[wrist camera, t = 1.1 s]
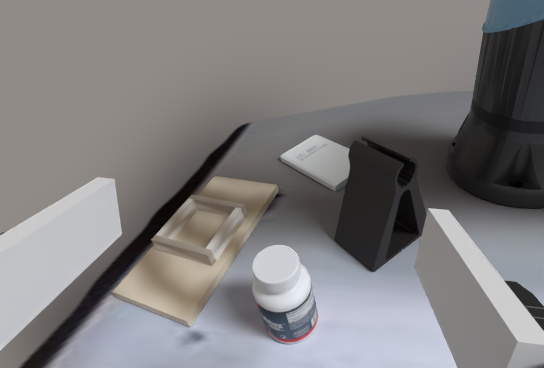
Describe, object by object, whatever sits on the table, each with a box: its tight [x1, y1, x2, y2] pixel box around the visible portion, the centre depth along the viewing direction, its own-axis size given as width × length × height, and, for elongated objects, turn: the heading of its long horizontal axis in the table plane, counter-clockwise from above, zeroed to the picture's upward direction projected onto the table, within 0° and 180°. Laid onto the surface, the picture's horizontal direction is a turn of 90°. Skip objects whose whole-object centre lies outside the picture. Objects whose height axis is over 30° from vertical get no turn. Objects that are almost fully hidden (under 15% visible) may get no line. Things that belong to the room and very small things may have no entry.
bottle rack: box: [113, 176, 278, 327], centre depth 44 cm, size 22×11×3 cm, turn 154°
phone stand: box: [335, 137, 426, 272], centre depth 36 cm, size 9×6×12 cm, turn 123°
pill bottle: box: [252, 245, 318, 344], centre depth 31 cm, size 5×5×9 cm
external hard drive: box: [280, 135, 350, 192], centre depth 53 cm, size 2×8×12 cm
